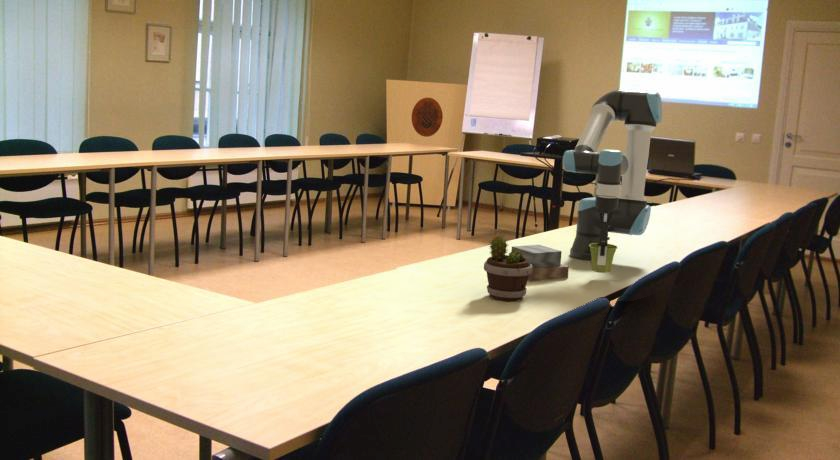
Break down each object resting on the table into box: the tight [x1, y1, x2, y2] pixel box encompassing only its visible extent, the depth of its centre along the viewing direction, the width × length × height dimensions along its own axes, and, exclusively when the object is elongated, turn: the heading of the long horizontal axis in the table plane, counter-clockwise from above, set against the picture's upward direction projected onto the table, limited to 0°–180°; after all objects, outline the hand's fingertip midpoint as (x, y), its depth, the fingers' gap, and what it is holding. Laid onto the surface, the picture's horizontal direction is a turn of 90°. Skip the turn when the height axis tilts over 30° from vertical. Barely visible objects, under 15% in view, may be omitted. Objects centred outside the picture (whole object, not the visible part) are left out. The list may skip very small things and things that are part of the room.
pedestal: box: [511, 244, 570, 282], centre depth 281 cm, size 16×16×9 cm
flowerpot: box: [483, 231, 533, 302], centre depth 246 cm, size 14×15×20 cm
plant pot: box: [589, 243, 618, 274], centre depth 278 cm, size 9×9×9 cm
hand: (601, 261), depth 278 cm, fingers closed on plant pot, 9 cm apart
